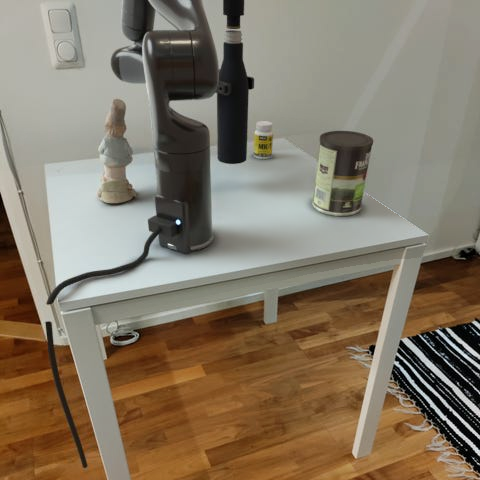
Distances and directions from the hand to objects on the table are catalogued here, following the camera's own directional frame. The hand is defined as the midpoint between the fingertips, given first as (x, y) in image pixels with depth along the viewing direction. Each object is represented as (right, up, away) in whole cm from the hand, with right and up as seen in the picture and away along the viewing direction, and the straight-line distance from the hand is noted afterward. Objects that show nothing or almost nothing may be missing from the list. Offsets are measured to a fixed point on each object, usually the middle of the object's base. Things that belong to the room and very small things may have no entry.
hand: (241, 86), depth 93 cm
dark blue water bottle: (-2, -11, +11) cm, 15 cm away
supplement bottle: (+6, -3, +31) cm, 32 cm away
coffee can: (+20, -22, +7) cm, 31 cm away
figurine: (-27, -20, +9) cm, 34 cm away
